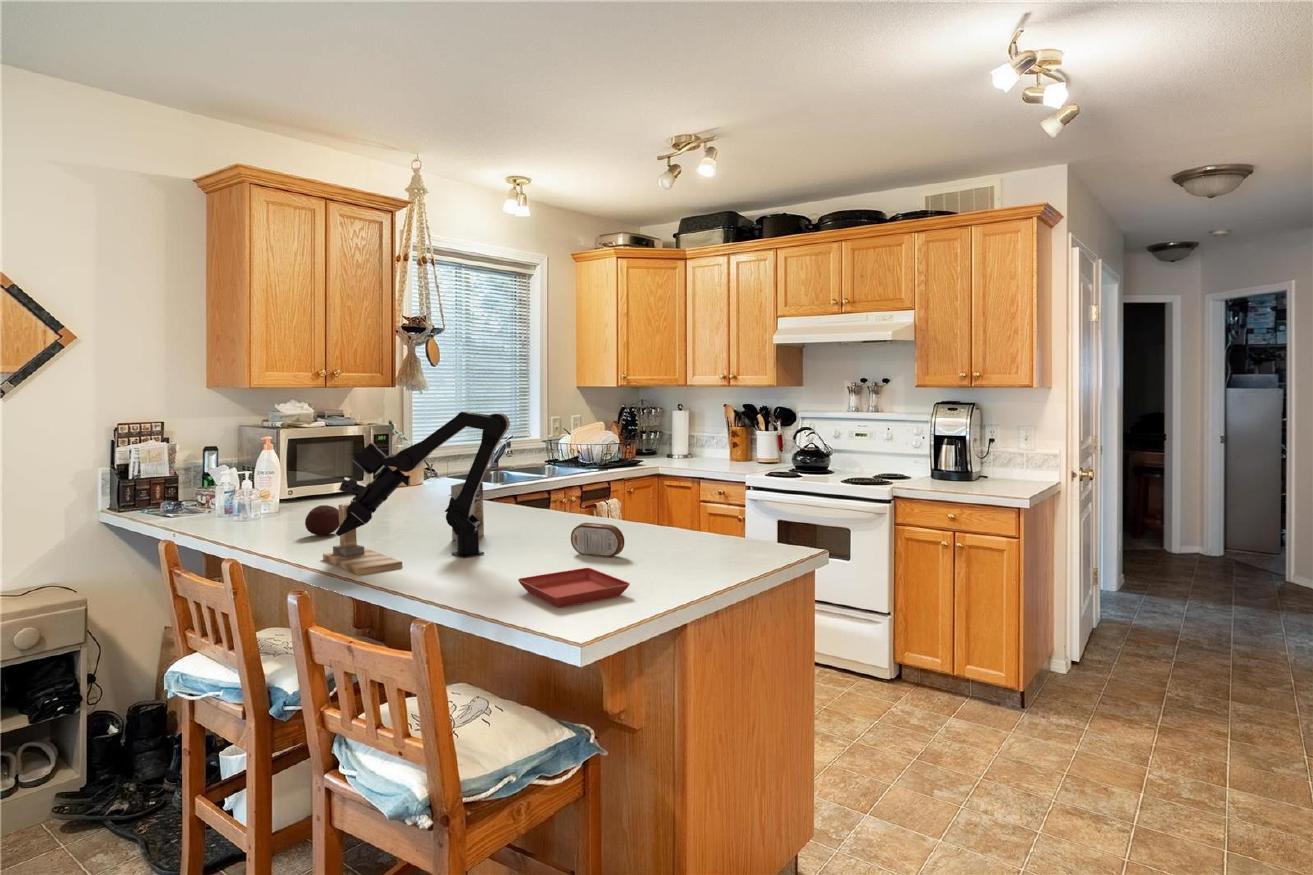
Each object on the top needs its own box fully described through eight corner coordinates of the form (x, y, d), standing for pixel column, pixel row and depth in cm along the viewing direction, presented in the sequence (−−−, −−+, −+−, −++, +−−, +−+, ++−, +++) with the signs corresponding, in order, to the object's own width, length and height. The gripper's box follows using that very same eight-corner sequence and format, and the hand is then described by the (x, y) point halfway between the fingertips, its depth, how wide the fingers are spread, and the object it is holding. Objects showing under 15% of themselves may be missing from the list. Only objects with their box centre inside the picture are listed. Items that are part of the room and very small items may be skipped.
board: (402, 567, 194) (402, 561, 194) (358, 575, 187) (357, 568, 187) (364, 553, 212) (364, 547, 212) (323, 559, 205) (322, 553, 205)
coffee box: (472, 540, 227) (470, 485, 226) (451, 540, 229) (449, 485, 228) (485, 534, 236) (483, 481, 235) (465, 534, 238) (463, 481, 237)
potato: (349, 532, 243) (348, 503, 242) (318, 540, 232) (317, 508, 231) (327, 531, 246) (326, 501, 245) (297, 538, 235) (295, 507, 234)
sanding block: (364, 554, 203) (362, 504, 202) (345, 557, 200) (343, 506, 199) (351, 550, 208) (349, 502, 207) (333, 553, 204) (331, 504, 203)
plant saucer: (631, 597, 165) (631, 582, 165) (555, 613, 155) (555, 596, 155) (588, 581, 180) (588, 566, 180) (516, 594, 170) (516, 578, 169)
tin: (625, 556, 204) (624, 524, 203) (619, 559, 201) (619, 526, 200) (575, 552, 210) (574, 521, 210) (569, 554, 207) (568, 523, 207)
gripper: (360, 463, 212) (318, 506, 210) (355, 470, 194) (308, 516, 192) (392, 490, 215) (351, 533, 212) (389, 499, 197) (344, 546, 195)
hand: (338, 531), depth 203 cm, fingers open, 9 cm apart
